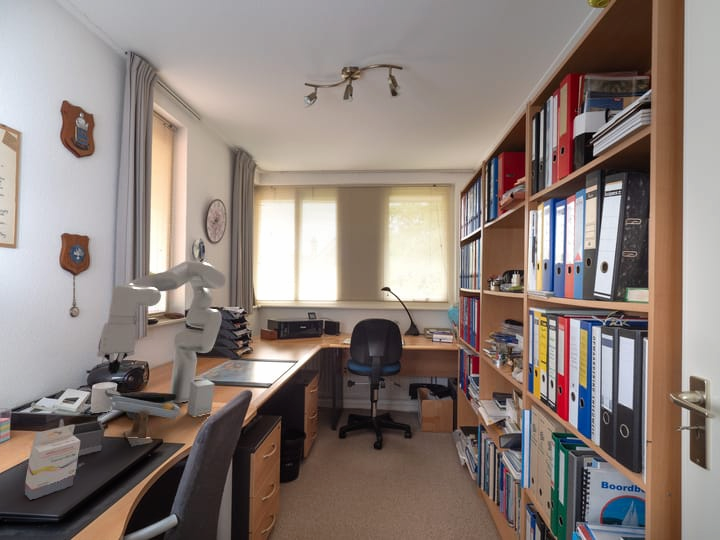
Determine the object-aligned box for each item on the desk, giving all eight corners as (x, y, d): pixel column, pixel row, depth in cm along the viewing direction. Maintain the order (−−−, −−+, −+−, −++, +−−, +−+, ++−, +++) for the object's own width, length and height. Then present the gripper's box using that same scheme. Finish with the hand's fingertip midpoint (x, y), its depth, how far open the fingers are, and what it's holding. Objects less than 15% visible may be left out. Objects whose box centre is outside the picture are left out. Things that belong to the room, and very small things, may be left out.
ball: (163, 412, 120) (172, 407, 122) (166, 415, 118) (174, 410, 120) (161, 405, 119) (170, 400, 122) (163, 407, 117) (172, 403, 119)
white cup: (99, 416, 126) (103, 389, 127) (83, 412, 128) (87, 386, 128) (118, 409, 134) (122, 384, 134) (102, 405, 136) (106, 381, 136)
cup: (97, 440, 109) (101, 413, 109) (101, 451, 103) (105, 421, 104) (55, 449, 102) (60, 419, 102) (57, 461, 96) (62, 429, 96)
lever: (163, 405, 129) (168, 396, 131) (175, 419, 119) (180, 409, 120) (103, 394, 116) (109, 384, 117) (111, 409, 105) (117, 397, 106)
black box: (178, 393, 146) (160, 397, 127) (173, 415, 144) (154, 422, 125) (135, 391, 144) (110, 394, 125) (129, 413, 141) (103, 420, 122)
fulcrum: (143, 429, 120) (147, 400, 120) (152, 442, 111) (156, 411, 112) (123, 433, 116) (128, 402, 116) (131, 447, 107) (136, 414, 108)
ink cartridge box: (29, 502, 79) (39, 439, 80) (22, 494, 81) (32, 433, 82) (74, 486, 86) (83, 428, 87) (66, 478, 89) (75, 422, 89)
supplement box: (211, 414, 138) (215, 383, 139) (193, 418, 133) (197, 386, 134) (204, 408, 143) (208, 379, 144) (186, 412, 138) (190, 381, 139)
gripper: (143, 319, 125) (135, 368, 124) (93, 318, 114) (84, 372, 113) (148, 322, 120) (140, 373, 118) (96, 321, 109) (87, 377, 108)
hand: (113, 372), depth 116 cm, fingers closed
